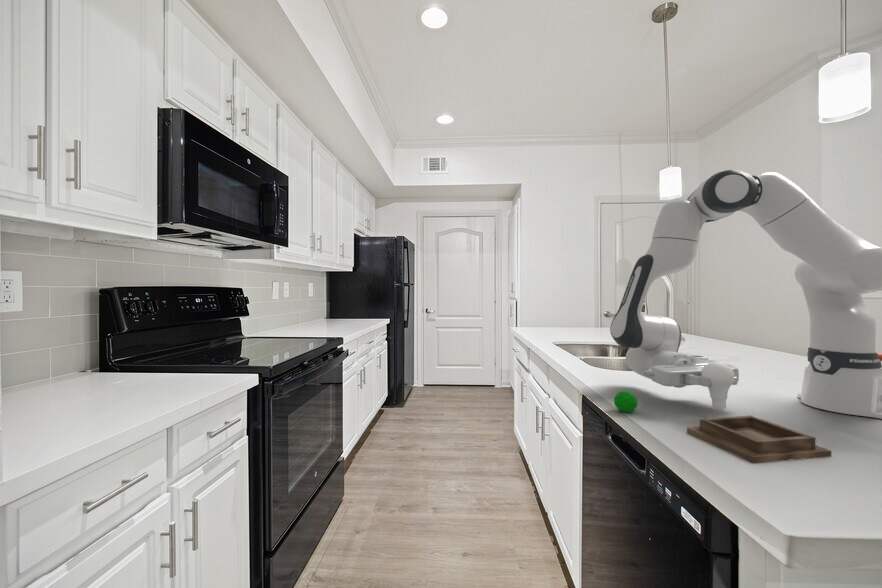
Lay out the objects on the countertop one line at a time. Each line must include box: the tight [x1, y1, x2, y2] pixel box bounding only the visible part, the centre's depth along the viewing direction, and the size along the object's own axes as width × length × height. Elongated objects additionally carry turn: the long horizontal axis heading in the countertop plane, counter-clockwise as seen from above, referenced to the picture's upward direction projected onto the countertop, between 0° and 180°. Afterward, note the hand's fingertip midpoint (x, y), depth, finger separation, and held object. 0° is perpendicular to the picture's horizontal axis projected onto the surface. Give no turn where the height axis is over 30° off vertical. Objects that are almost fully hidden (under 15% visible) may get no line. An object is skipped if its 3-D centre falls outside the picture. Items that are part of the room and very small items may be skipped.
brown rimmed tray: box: [686, 415, 832, 464], centre depth 73 cm, size 16×14×3 cm
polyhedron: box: [613, 390, 638, 414], centre depth 91 cm, size 5×5×5 cm
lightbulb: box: [701, 361, 734, 411], centre depth 87 cm, size 6×6×11 cm
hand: (722, 382), depth 86 cm, fingers closed on lightbulb, 5 cm apart
